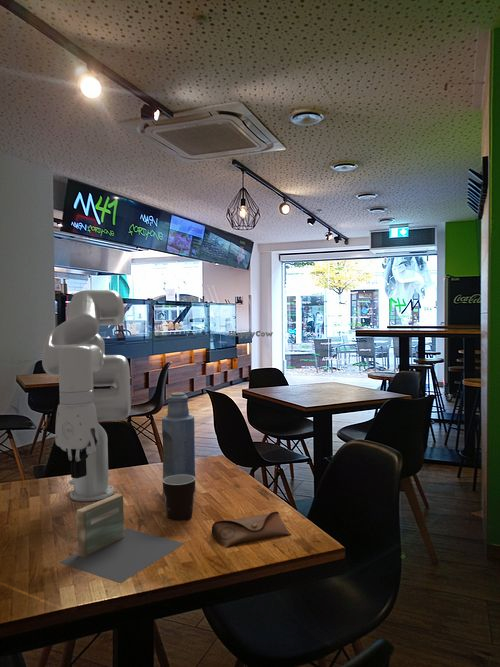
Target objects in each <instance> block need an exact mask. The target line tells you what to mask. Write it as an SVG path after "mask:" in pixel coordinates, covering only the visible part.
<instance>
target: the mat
mask: <svg viewBox="0 0 500 667" xmlns="http://www.w3.org/2000/svg"><path fill="white" fill-rule="evenodd" d="M184 544H185V543H184V542H181V541H179V540H178V541H177V540H173V539H169V538H166V537H163V536H162V537H161V536H159V535H154V534H150V533H146V532H142V531H141V530H140V531H139V530H135V529H131V528H128V527H126V528H124V537H123V538H121V539H119V540H117V541H115V542H113V543H111V544H109V545H107V546H105V547H104V548H102V549H100V550H98V551H96V552H94V553H92V554H90V555H88V556H86V557H81V556H78V552H77V553H75V554H73V555H72V556H69V557H67V558H65V559H63V560H61V561H59V563H60V564H63V565H66V566H69V567H71V568H74V569H78V570H81V571H84V572H86V573H87V572H88V573H90V574H92V575H96V576H98V577H102V578H105V579H108V580H111V581H113V582H116V583H119V584H122V583H123V582H125V581H126V580H128V579H131V578H132V577H134V576H135V575H136V574H138V573H139V572H142V571H143V570H144V569H146V568H147V567H149V566H151V565H153V564H154V563H155V562H157V561H160V560H161V559H162V558H164V557H166V556H167V555H168V554H170V553H172V552H174V551H175V550H176V549H178V548H180V547H181V546H183V545H184Z"/></svg>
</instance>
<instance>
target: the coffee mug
mask: <svg viewBox="0 0 500 667" xmlns="http://www.w3.org/2000/svg"><path fill="white" fill-rule="evenodd" d="M161 482H162V491H163V490H164V493H163V496H164V502H165V509H166V517H167V519H168V520H171V521H175V522H176V521H179V522H180V521H190V520H191V519H192V518H193V512H194V511H193V510H194V497H195V492H194V489H195V490H196V476H195V477H194V476H191V475H184V474H180V475H172V476H168V477H165V478H164V479H163V478H162V481H161Z"/></svg>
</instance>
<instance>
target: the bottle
mask: <svg viewBox="0 0 500 667" xmlns="http://www.w3.org/2000/svg"><path fill="white" fill-rule="evenodd" d="M188 400H189V397H188V395H186V393H185V392H181V391H180V392H178V391H177V392H171V393H170V395H169V396H168V397H167V411H166V412H167V413H166V415H165V416H162V418H161V435H162V436H161V437H162V480H163V479H164V478H165V477H168V476H172V475H180V474H184V475H191V476H194V477H195V478H196V461H195V460H196V455H195V454H196V451H195V449H196V448H195V447H196V446H195V440H196V439H195V432H196V431H195V430H196V429H195V416H194V415H193V414H190V411H189V403H188ZM162 491H163V492H162V493H163V494H164V490H163V489H162ZM195 492H196V488H195V489H194V493H195Z"/></svg>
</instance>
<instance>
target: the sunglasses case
mask: <svg viewBox="0 0 500 667" xmlns="http://www.w3.org/2000/svg"><path fill="white" fill-rule="evenodd" d="M211 526H212V527H211V535H213V536H214V537H213V538H214V539H215V541H217V542H218V543H219V545H221V546H222V547H223V549H228V548H231V547H235V546H239V545H243V544H249V543H253V542H259V541H264V540H268V539H269V540H270V539H273V538H279V537H286V536H287V537H288V536H291V535H292V533H291V532H289V531H288V529H287V527H286V525H285V524H284V521H283V520H282V518H281V516H280V513H279V512H278V511H272V512H269V513H264V514H257V515H250V516H245V517H240V518H239V517H238V518H234V519H228V520H226V519H224V520H219V521H215V522H214V523H213V524H212V525H211Z"/></svg>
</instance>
